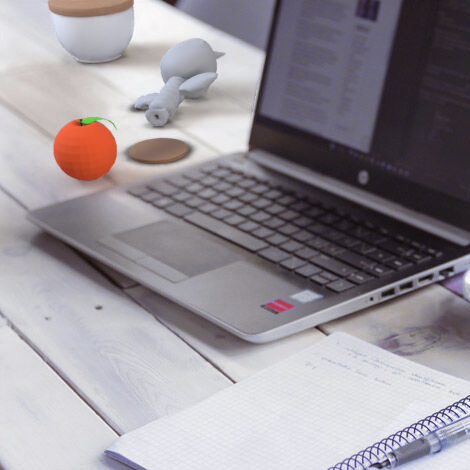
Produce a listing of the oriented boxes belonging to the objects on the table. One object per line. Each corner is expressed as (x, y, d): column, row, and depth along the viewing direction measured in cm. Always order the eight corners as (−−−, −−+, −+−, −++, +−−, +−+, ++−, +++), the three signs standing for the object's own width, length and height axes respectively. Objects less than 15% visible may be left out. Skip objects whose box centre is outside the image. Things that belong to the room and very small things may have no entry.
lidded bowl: (146, 63, 145) (139, -10, 140) (62, 73, 141) (50, -2, 136) (131, 41, 156) (123, -28, 150) (51, 49, 151) (41, -21, 146)
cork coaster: (120, 161, 112) (120, 158, 112) (141, 139, 118) (140, 136, 118) (177, 165, 111) (177, 162, 111) (195, 142, 117) (195, 139, 117)
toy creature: (101, 101, 121) (157, 34, 137) (128, 149, 125) (180, 78, 141) (184, 77, 117) (233, 10, 132) (210, 127, 120) (255, 57, 136)
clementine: (102, 157, 113) (95, 101, 110) (140, 173, 109) (133, 114, 106) (45, 179, 108) (35, 120, 104) (83, 196, 104) (74, 135, 100)
